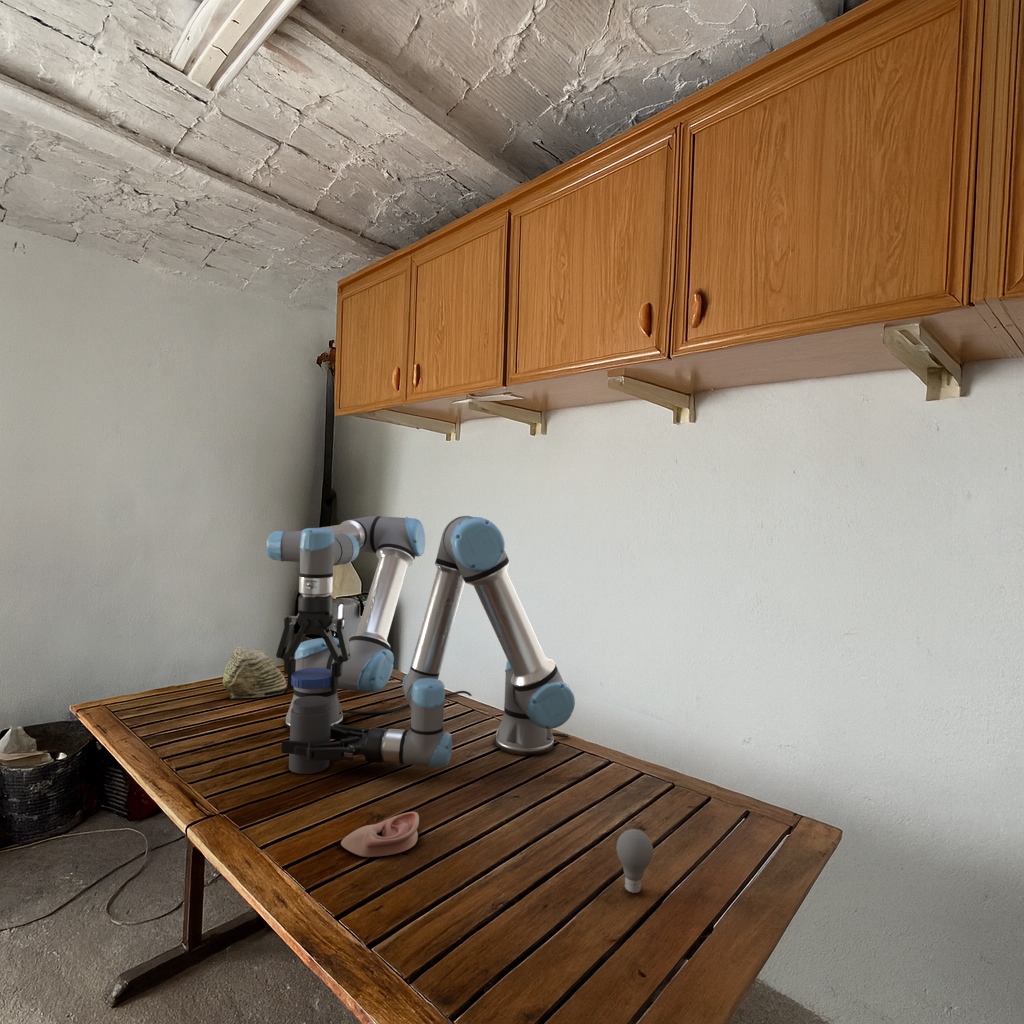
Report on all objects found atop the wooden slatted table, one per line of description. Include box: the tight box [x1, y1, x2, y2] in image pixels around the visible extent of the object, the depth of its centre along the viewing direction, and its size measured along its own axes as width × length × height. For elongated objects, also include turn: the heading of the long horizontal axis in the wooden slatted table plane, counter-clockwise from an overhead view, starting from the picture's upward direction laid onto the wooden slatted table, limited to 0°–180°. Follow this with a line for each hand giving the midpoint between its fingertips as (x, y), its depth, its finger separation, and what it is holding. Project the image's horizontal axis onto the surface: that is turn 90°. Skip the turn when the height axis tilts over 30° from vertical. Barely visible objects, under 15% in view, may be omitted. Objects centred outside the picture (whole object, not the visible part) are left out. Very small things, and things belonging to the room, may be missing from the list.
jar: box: [288, 696, 331, 775], centre depth 149 cm, size 9×9×15 cm
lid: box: [291, 668, 332, 689], centre depth 149 cm, size 10×10×2 cm
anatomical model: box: [340, 811, 420, 858], centre depth 117 cm, size 13×4×12 cm
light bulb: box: [615, 828, 654, 894], centre depth 106 cm, size 6×6×10 cm
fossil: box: [222, 646, 287, 699], centre depth 198 cm, size 9×18×15 cm, turn 132°
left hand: (312, 689), depth 149 cm, fingers closed on lid, 10 cm apart
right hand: (291, 738), depth 149 cm, fingers closed on jar, 9 cm apart
